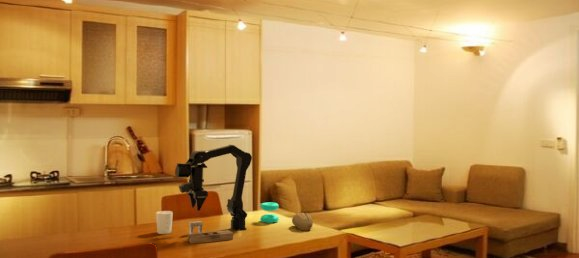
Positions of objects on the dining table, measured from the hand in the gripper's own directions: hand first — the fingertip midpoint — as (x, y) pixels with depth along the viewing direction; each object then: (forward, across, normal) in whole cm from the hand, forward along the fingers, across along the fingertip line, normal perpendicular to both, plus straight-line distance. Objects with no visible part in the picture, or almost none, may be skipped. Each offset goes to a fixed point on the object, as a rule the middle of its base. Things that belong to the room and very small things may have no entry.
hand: (195, 209), depth 247 cm
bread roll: (+11, +10, +54) cm, 56 cm away
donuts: (+11, -12, +46) cm, 48 cm away
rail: (+12, +14, +4) cm, 19 cm away
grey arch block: (+12, 0, 0) cm, 12 cm away
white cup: (+13, -10, -12) cm, 21 cm away
